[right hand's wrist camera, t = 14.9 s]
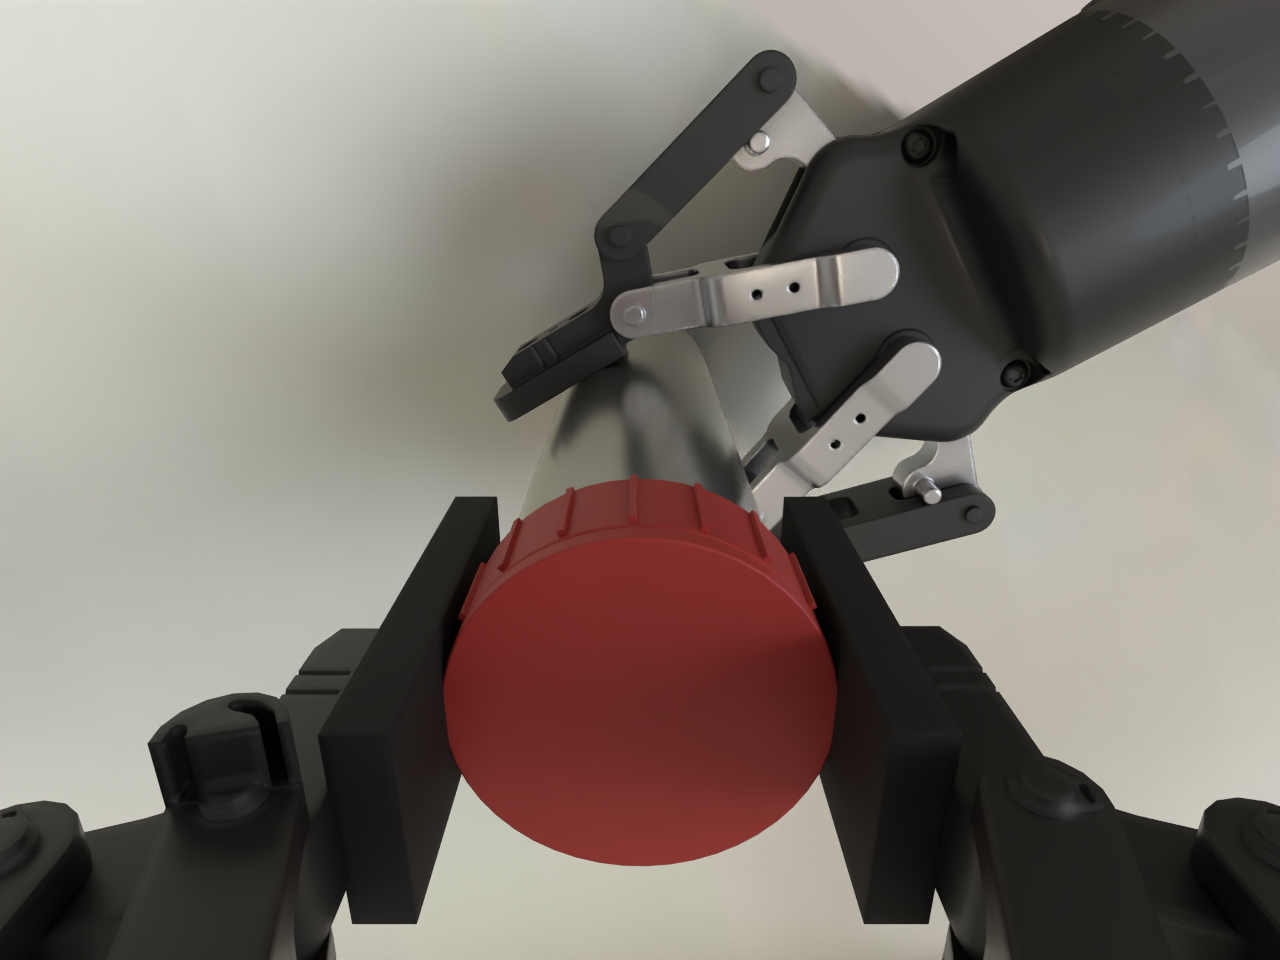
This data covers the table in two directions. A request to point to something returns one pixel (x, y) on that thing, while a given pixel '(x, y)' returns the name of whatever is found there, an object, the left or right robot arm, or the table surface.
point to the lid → (640, 676)
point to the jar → (643, 427)
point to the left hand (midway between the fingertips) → (561, 483)
